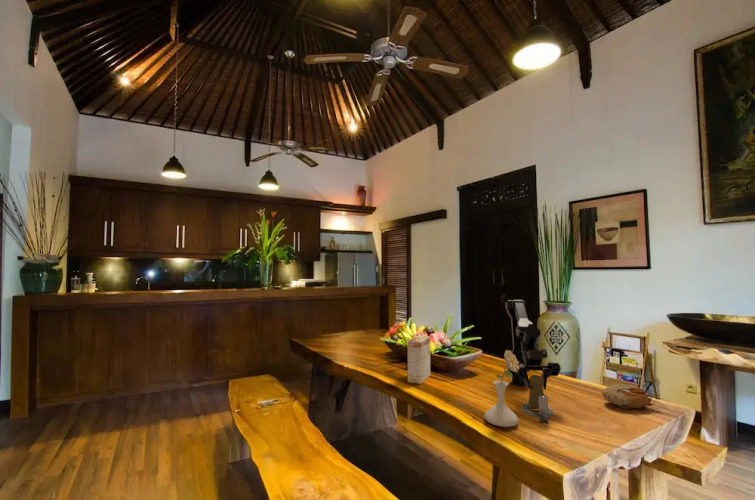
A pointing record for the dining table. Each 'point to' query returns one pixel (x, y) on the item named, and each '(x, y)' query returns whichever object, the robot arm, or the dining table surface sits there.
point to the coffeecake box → (418, 359)
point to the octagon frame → (543, 410)
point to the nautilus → (629, 396)
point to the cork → (535, 390)
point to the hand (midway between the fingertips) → (537, 389)
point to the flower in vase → (500, 411)
